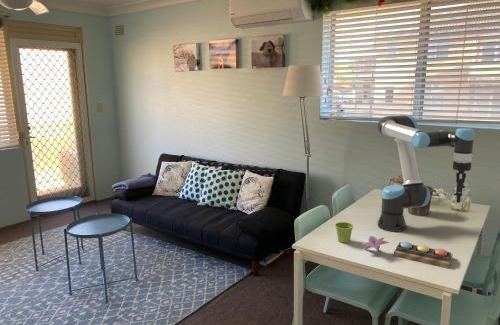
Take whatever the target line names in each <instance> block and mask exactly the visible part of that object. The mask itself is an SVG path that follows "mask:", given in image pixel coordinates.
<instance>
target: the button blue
mask: <svg viewBox="0 0 500 325" xmlns="http://www.w3.org/2000/svg"><path fill="white" fill-rule="evenodd" d="M400 242H401V241H400ZM412 245H413V244H412V243H411V242H408V241H402V242H401V248H404V249H411V248H412Z"/></svg>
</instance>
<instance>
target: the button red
mask: <svg viewBox="0 0 500 325" xmlns="http://www.w3.org/2000/svg"><path fill="white" fill-rule="evenodd" d="M434 249H435V254H436V255H438V256H443V257H445V256H447V252H448V251H447V250H446V249H443V248H434Z"/></svg>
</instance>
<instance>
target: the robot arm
mask: <svg viewBox="0 0 500 325" xmlns="http://www.w3.org/2000/svg"><path fill="white" fill-rule="evenodd" d="M376 131H377V132H378V133H379V135H381V136H383V137H385V138H391V137H392V138H393V141H395V142H396V144H397V149H398V156H399V162H400V167H401V173H402V179H403V183H402V184H401V185H400V184H399V185H398V184H396V185H395V184H394V185H393V184H391V185H388V186H387V185H386V186H385V187H384V188H383V189H382V193H381V212H380V215H379V217H378V220H377V227H378V228H379V229H381V230H383V231H388V232H389V231H390V232H402V231H403V232H404V230H406V229H407V228H406V227H407V223H406V220H405V216H404V210H405V209H408V208H414V207H422V206H425V205H427V204H428V202H429V200H430V191H429V189H428V188H427V187H426V186H427V185H425V184H424V181H422V180H421V178H420V175H419V168H418V162H417V161H418V160H417V158H416V151H415V148H417V149H425V148H436V147H437V148H438V147H439V148H440V147H441V148H442V147H451V148H454V149H453V158H452V159H453V162H452V170H455V171H458V172H456V174H455V176H456V178H455V179H456V180H455V182H456V190H455V193H453V195H454V196H455V197H454V198H455V200H454V209H455V210H462V202H463V194H464V189H465V187H466V185H464V184H465V182H466V181H465V180H466V177H467V173H465V172H469V171H471V170H472V159H473V158H474V157H475V155H473V150H474V142H475V131H474V129H473V128H467V127H466V128H465V127H464V128H463V127H462V128H460V127H459V128H456V129H455V131H454V130H449V129H440V130H437V131H426V130H422V129H419V127H418V122H417V120H416V119H415V117H414V116H411V115H406V114H403V115H402V114H401V115H387V116H384V117H382V118H381V119H380V120H379V121H378V122H377V123H376ZM424 185H425V186H424Z"/></svg>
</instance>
